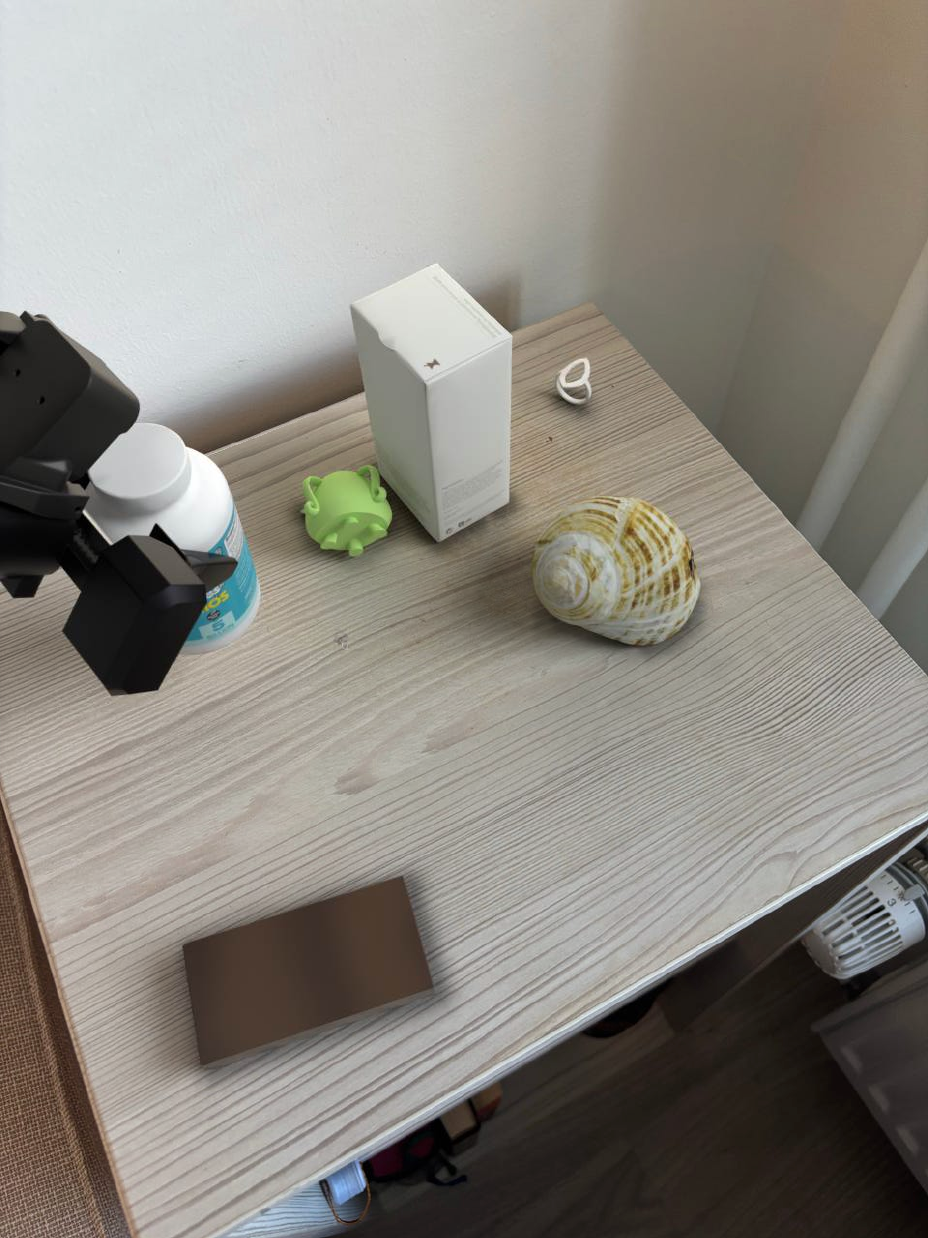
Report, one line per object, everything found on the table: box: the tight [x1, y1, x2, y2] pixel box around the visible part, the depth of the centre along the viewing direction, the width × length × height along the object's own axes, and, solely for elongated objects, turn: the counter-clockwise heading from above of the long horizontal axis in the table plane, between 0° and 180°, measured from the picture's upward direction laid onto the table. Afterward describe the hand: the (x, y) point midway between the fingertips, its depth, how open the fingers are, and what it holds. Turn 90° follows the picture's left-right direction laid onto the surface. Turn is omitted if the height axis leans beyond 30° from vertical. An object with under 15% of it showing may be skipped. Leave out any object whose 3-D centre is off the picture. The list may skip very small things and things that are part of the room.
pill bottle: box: [85, 422, 262, 656], centre depth 49 cm, size 8×7×14 cm
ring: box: [553, 357, 593, 406], centre depth 69 cm, size 2×3×3 cm
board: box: [181, 874, 437, 1070], centre depth 49 cm, size 12×6×2 cm, turn 108°
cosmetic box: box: [349, 263, 514, 543], centre depth 59 cm, size 8×7×16 cm
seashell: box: [531, 495, 701, 646], centre depth 59 cm, size 10×10×10 cm
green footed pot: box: [300, 464, 393, 557], centre depth 62 cm, size 6×5×6 cm
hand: (193, 523), depth 50 cm, fingers closed on pill bottle, 7 cm apart
